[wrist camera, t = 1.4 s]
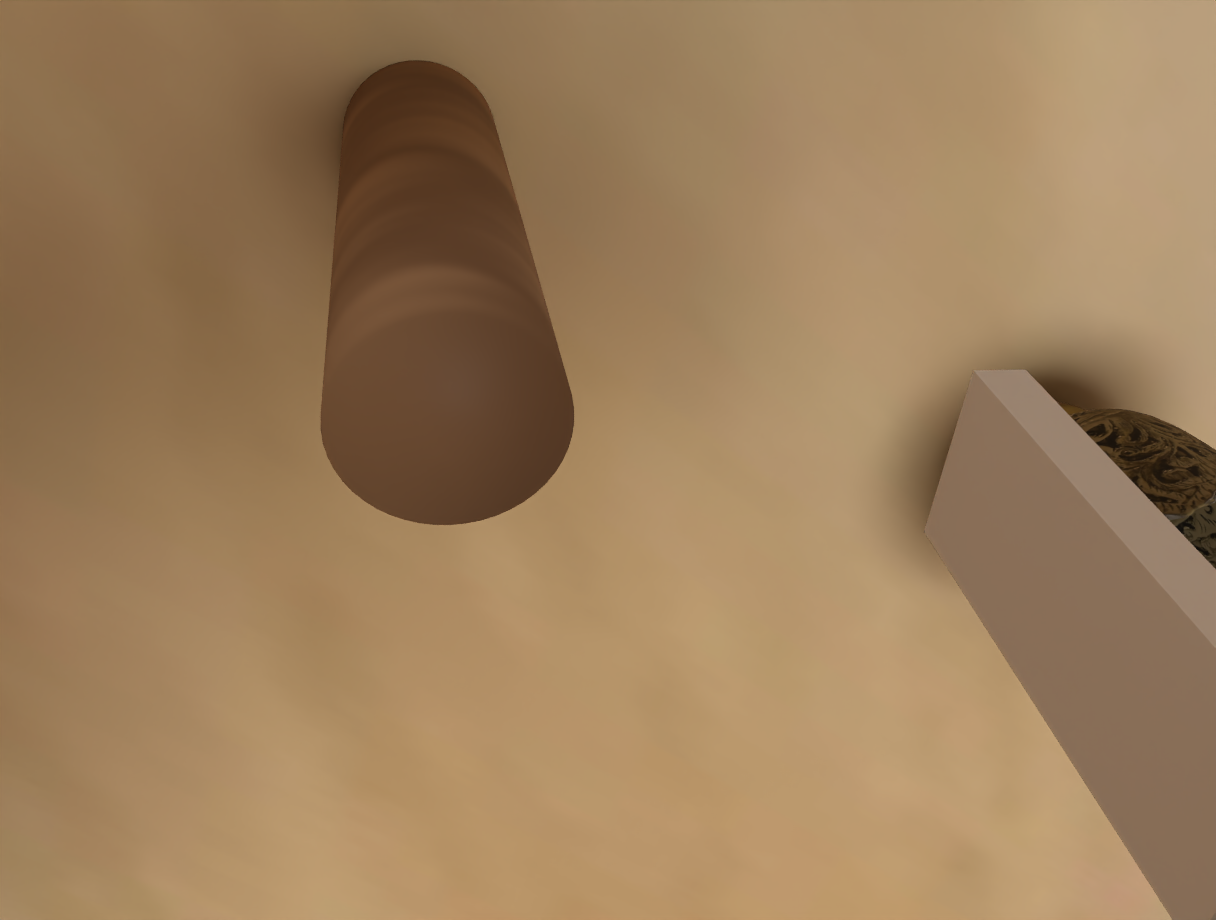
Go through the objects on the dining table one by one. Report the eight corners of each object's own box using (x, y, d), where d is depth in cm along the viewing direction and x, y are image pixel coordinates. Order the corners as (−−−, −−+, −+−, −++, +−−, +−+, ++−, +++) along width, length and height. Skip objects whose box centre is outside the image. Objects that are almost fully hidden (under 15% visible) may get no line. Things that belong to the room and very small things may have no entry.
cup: (866, 509, 33) (985, 703, 27) (1003, 303, 30) (1178, 469, 23) (1049, 559, 36) (1197, 747, 29) (1194, 376, 32) (1398, 543, 26)
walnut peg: (347, 209, 25) (330, 529, 15) (337, 58, 23) (310, 314, 13) (494, 210, 26) (567, 519, 16) (497, 63, 24) (581, 311, 14)
